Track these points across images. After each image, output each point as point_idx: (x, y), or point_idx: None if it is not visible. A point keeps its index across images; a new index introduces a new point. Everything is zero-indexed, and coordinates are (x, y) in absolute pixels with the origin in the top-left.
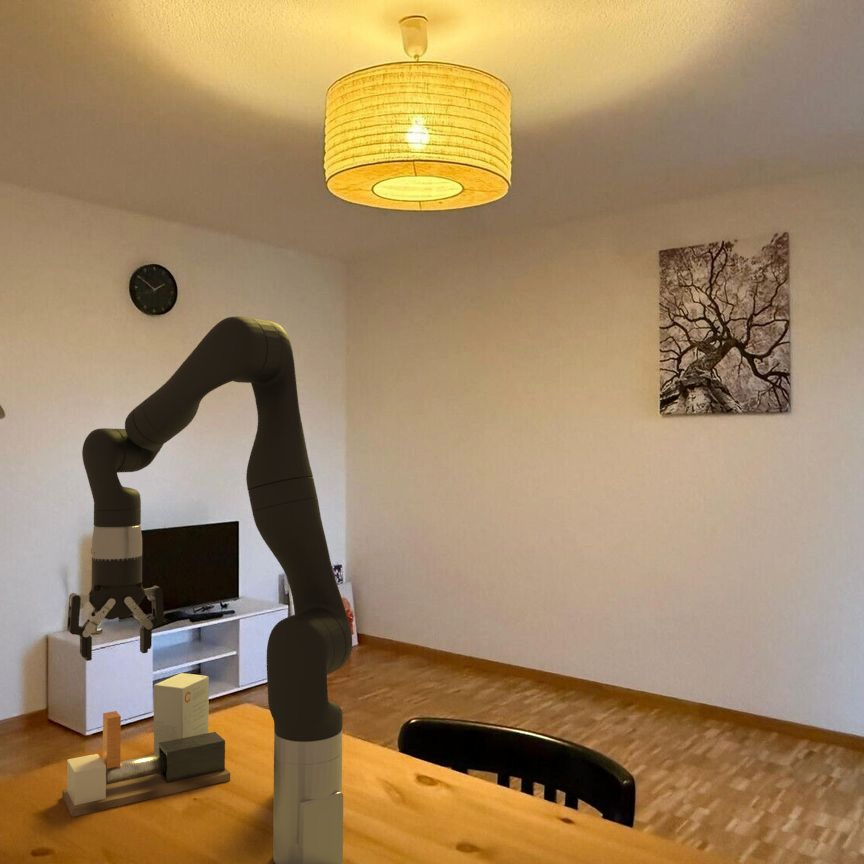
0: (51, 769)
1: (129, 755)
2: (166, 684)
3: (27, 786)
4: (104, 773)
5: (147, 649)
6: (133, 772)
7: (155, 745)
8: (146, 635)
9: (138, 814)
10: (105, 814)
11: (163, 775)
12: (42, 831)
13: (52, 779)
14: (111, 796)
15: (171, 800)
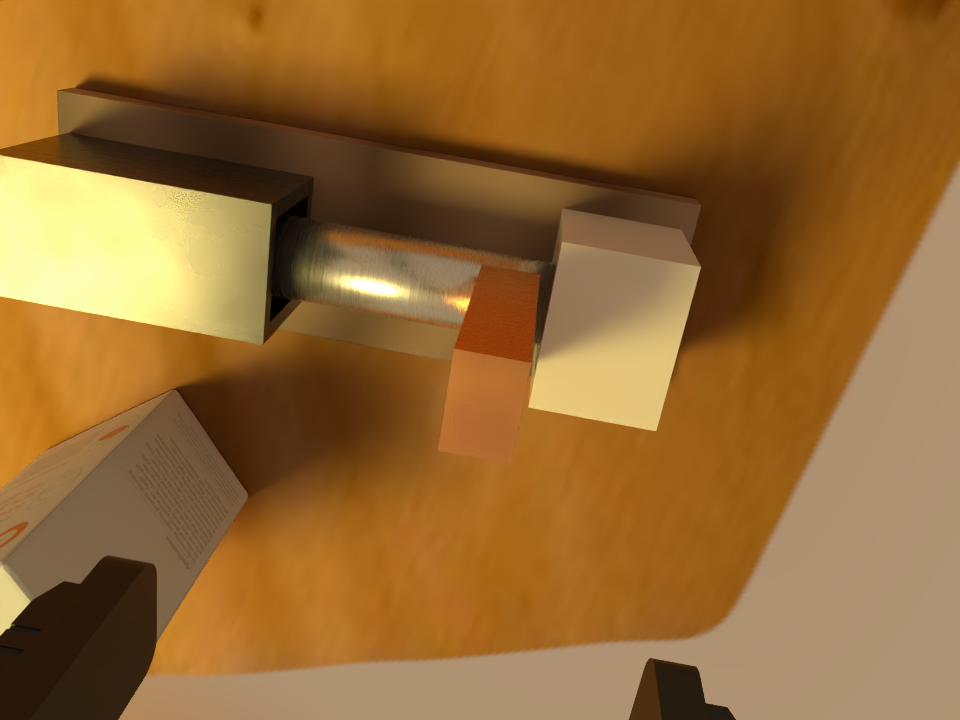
0: (574, 626)
1: (316, 563)
2: None
3: (694, 552)
4: (568, 235)
5: (97, 569)
6: (429, 241)
7: (229, 513)
8: (18, 681)
9: (495, 37)
10: (593, 132)
11: None
12: (832, 154)
13: (606, 550)
14: (537, 211)
15: (340, 72)
